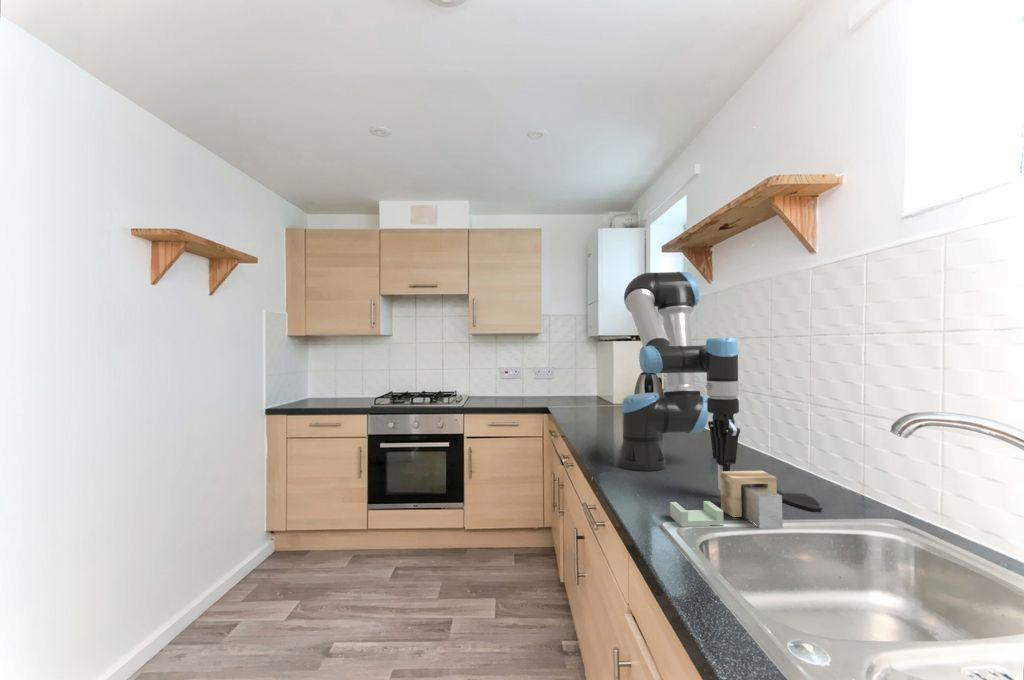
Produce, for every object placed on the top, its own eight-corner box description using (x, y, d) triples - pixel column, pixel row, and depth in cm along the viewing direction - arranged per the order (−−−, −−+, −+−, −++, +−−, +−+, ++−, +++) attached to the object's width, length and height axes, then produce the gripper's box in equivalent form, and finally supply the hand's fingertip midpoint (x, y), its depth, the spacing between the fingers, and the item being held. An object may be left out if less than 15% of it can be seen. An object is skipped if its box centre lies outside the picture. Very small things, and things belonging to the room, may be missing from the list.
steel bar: (722, 504, 123) (722, 475, 123) (742, 503, 123) (742, 475, 123) (759, 529, 106) (759, 496, 106) (782, 528, 106) (781, 495, 106)
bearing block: (720, 509, 118) (720, 471, 119) (762, 508, 119) (762, 470, 119) (733, 518, 112) (732, 478, 113) (777, 516, 113) (776, 477, 113)
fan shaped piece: (793, 514, 116) (793, 507, 116) (771, 496, 130) (771, 490, 130) (831, 515, 115) (831, 508, 115) (806, 497, 128) (805, 491, 128)
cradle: (670, 515, 114) (670, 502, 114) (709, 514, 115) (709, 500, 115) (681, 527, 107) (681, 512, 107) (723, 525, 108) (723, 511, 108)
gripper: (697, 395, 134) (699, 483, 134) (719, 400, 121) (721, 497, 121) (725, 394, 134) (727, 482, 134) (750, 399, 121) (752, 496, 121)
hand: (724, 489), depth 127 cm, fingers closed
